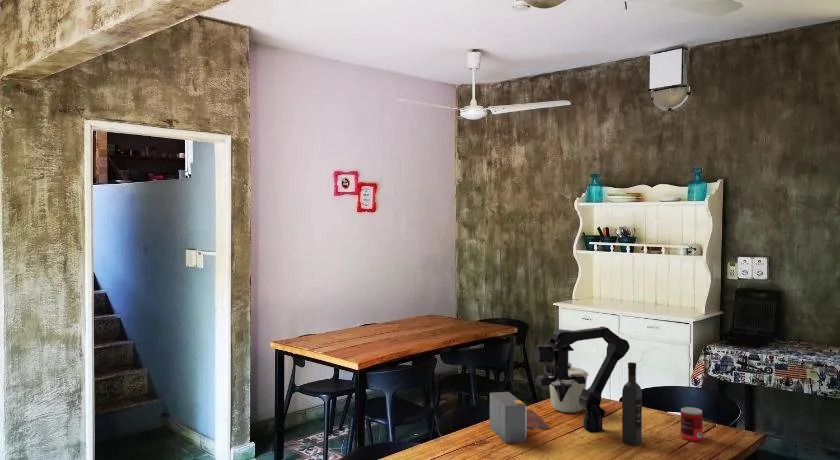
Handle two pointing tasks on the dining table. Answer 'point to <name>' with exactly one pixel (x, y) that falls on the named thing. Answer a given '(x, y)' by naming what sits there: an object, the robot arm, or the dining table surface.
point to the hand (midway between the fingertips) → (560, 401)
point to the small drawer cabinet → (507, 417)
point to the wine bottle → (632, 409)
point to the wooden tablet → (534, 421)
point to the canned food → (691, 424)
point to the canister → (569, 393)
